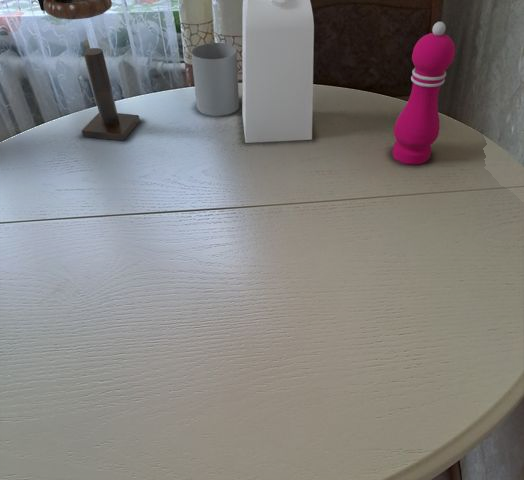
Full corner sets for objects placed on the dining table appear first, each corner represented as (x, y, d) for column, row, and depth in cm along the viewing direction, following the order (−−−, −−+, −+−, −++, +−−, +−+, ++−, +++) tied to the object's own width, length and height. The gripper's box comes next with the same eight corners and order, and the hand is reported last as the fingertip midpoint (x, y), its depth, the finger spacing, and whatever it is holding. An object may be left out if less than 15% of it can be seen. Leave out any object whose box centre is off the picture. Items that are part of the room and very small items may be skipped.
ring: (33, 18, 75) (28, 2, 73) (66, -2, 81) (62, -17, 79) (94, 23, 73) (90, 7, 71) (123, 2, 79) (120, -13, 78)
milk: (303, 110, 97) (311, -59, 78) (311, 139, 90) (323, -40, 70) (242, 114, 97) (234, -56, 77) (245, 142, 90) (237, -37, 70)
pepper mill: (380, 156, 86) (404, 22, 71) (405, 141, 89) (432, 10, 74) (416, 171, 82) (449, 34, 67) (440, 155, 86) (476, 21, 70)
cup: (191, 113, 98) (184, 57, 90) (204, 95, 103) (199, 41, 95) (233, 117, 96) (229, 61, 89) (244, 99, 101) (241, 44, 94)
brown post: (83, 136, 92) (59, 58, 82) (101, 117, 97) (82, 41, 87) (123, 141, 91) (104, 62, 81) (140, 121, 96) (124, 44, 86)
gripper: (-64, -158, 62) (-3, 13, 76) (51, -158, 60) (93, 19, 74) (-28, -164, 67) (24, -2, 81) (81, -164, 64) (115, 4, 78)
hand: (56, 7), depth 77 cm, fingers closed on ring, 2 cm apart
